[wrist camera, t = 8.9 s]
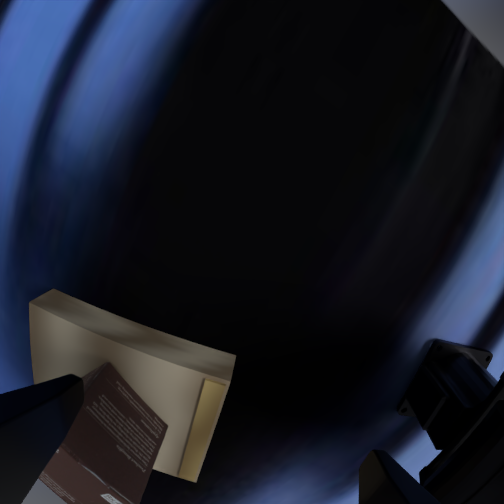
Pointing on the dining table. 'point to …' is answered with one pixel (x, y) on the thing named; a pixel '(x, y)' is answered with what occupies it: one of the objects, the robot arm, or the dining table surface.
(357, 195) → the dining table surface
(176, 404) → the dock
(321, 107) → the dining table surface
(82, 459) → the box
